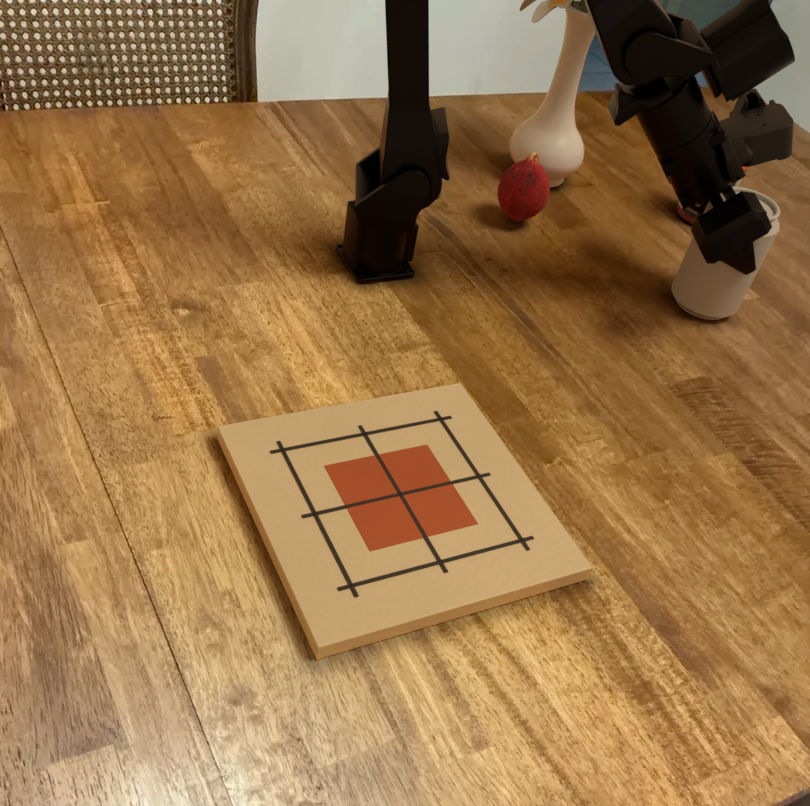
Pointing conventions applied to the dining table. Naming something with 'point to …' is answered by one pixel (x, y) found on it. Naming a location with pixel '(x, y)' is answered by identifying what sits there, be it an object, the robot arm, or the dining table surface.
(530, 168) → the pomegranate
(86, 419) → the dining table surface
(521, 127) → the flower vase
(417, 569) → the board
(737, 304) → the can
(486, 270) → the dining table surface
